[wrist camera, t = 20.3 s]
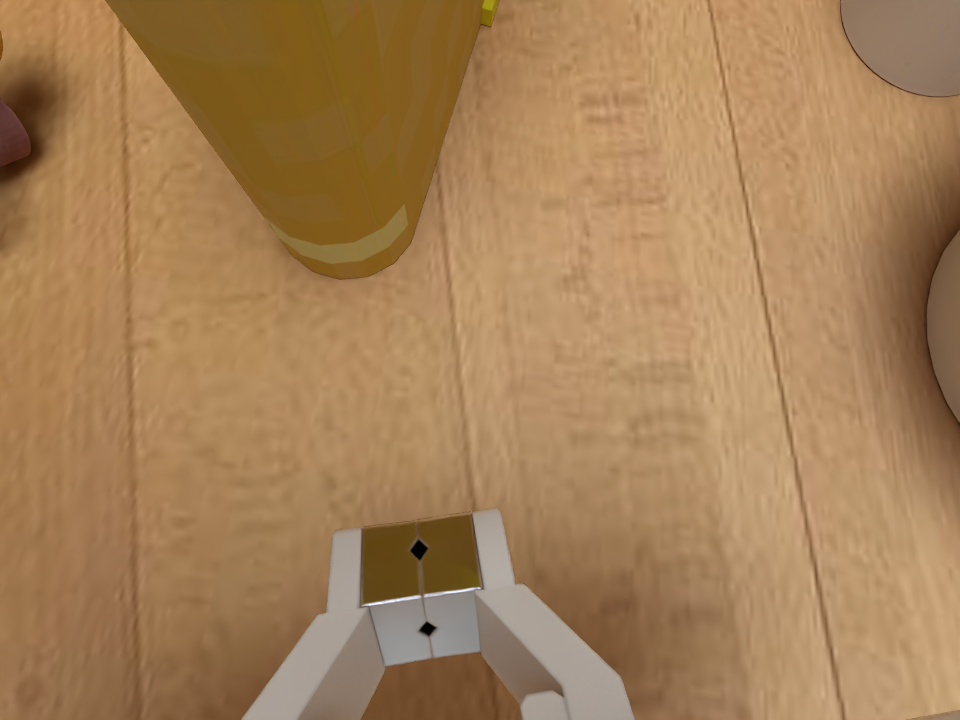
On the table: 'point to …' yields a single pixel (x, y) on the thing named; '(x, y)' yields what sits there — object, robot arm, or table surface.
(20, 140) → the binoculars
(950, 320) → the bowl
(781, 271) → the table surface
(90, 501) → the table surface
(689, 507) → the table surface
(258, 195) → the book
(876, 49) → the gray cylinder
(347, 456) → the table surface
